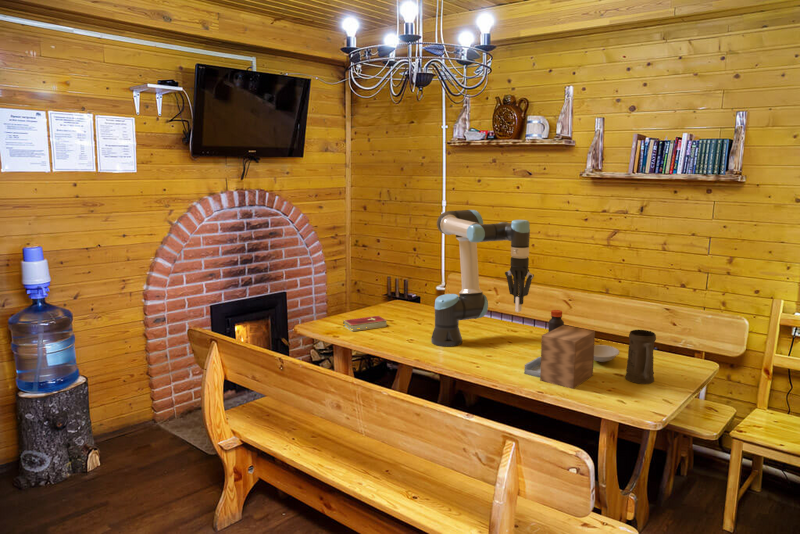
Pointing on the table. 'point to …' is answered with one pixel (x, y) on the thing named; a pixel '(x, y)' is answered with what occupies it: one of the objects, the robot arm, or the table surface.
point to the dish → (604, 353)
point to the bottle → (555, 320)
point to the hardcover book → (365, 323)
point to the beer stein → (640, 357)
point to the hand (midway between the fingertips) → (518, 311)
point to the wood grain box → (567, 356)
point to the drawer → (533, 367)
